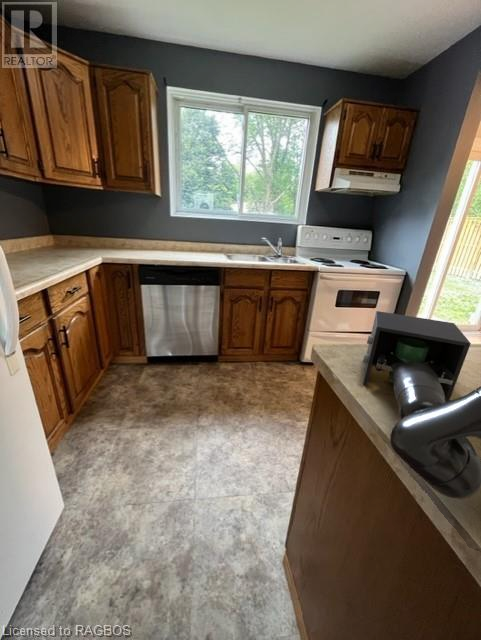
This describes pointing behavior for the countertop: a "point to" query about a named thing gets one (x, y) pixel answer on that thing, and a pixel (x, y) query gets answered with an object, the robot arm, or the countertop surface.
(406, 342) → the green cylinder
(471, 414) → the robot arm
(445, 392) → the dark grey open box
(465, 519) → the countertop surface
